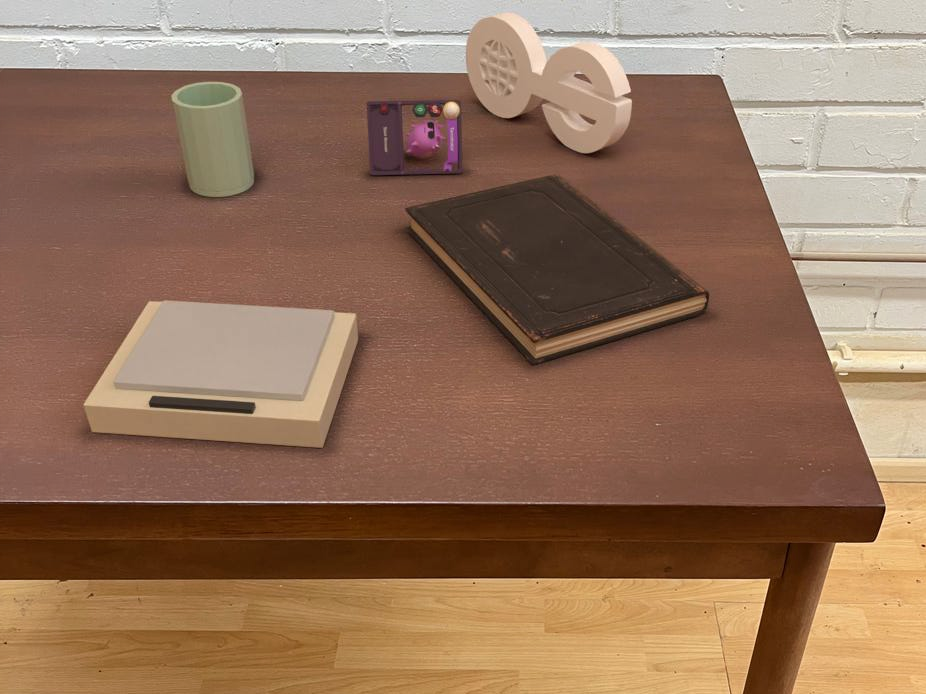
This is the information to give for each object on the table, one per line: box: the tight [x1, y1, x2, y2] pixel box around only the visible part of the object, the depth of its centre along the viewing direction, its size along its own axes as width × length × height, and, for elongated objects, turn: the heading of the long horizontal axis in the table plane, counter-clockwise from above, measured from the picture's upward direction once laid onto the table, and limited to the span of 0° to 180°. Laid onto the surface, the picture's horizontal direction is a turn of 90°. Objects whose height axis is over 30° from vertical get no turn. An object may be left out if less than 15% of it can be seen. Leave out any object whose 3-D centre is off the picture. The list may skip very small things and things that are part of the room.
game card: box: [366, 99, 463, 176], centre depth 99 cm, size 7×5×9 cm
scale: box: [83, 300, 359, 449], centre depth 72 cm, size 16×13×3 cm
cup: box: [170, 81, 255, 198], centre depth 94 cm, size 6×6×8 cm
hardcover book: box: [404, 173, 710, 366], centre depth 84 cm, size 16×23×2 cm
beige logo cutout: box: [465, 12, 633, 154], centre depth 103 cm, size 22×2×10 cm, turn 42°
